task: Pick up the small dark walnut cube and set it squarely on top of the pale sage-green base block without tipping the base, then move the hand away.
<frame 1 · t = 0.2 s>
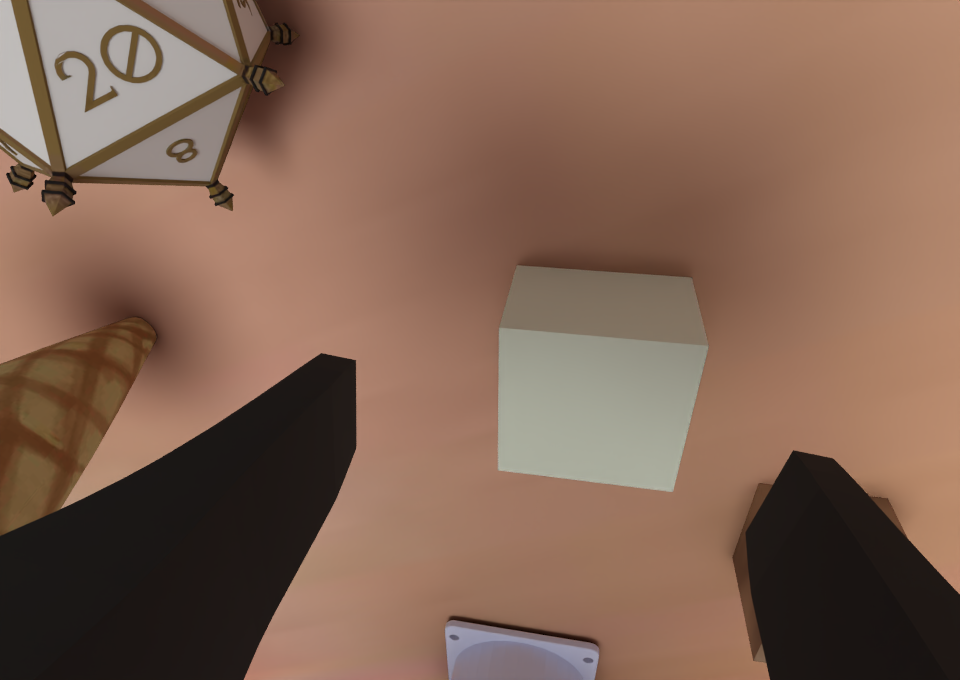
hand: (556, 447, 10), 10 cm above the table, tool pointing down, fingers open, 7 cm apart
game die: (200, 10, 17), on the table
base block: (594, 340, 21), on the table
walnut cube: (804, 528, 24), on the table
ice cream cone: (139, 320, 24), on the table
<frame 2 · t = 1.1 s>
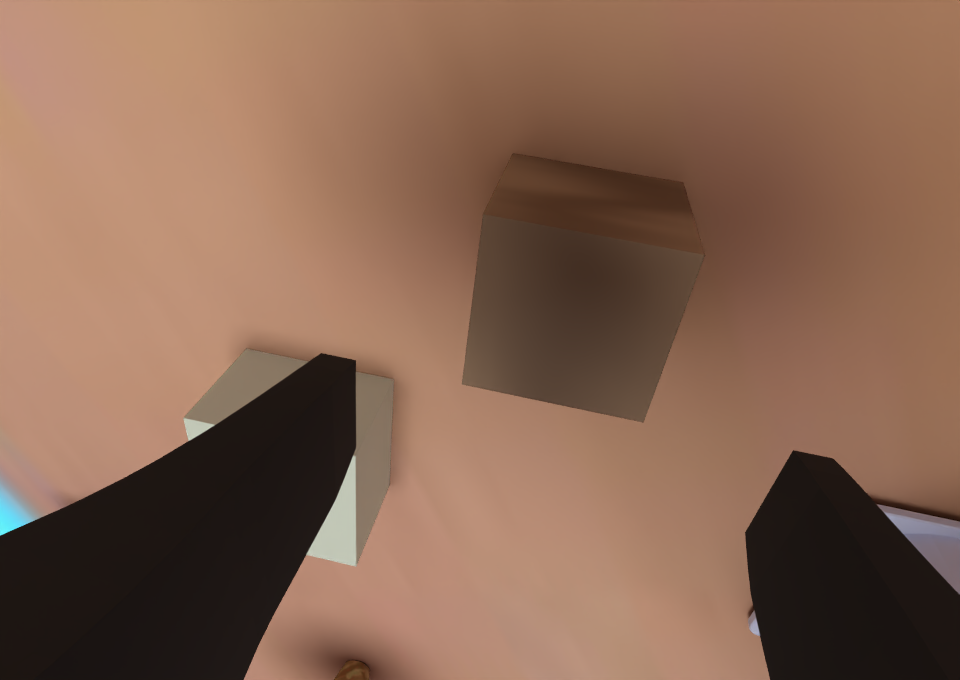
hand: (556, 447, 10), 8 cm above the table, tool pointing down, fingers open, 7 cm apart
base block: (323, 418, 23), on the table
walnut cube: (579, 244, 17), on the table
ice cream cone: (352, 662, 33), on the table
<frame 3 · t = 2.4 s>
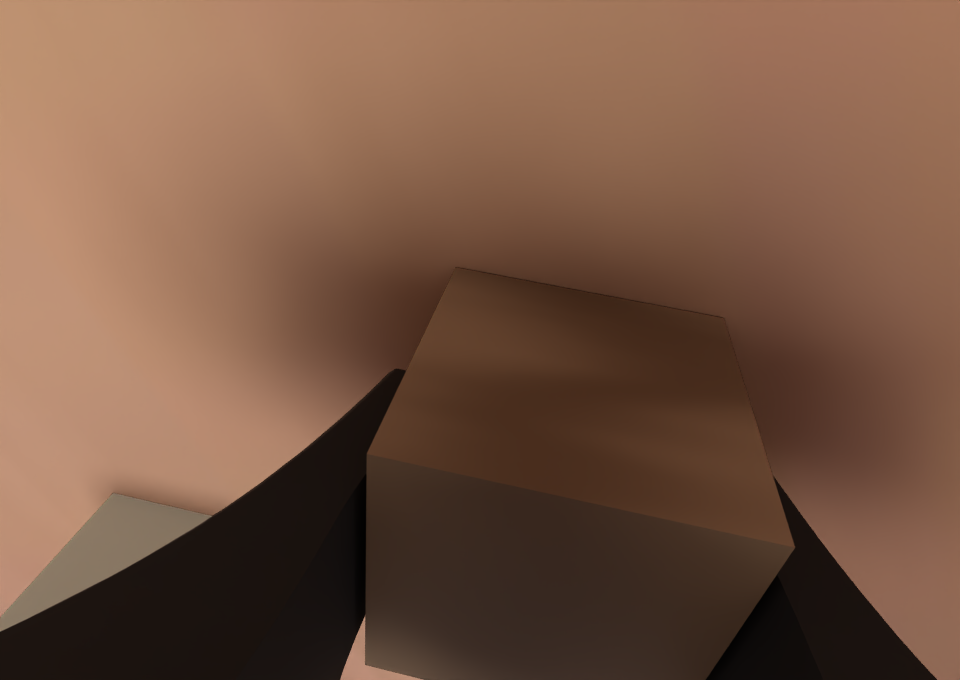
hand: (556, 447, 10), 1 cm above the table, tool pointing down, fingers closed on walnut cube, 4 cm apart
base block: (227, 572, 17), on the table
walnut cube: (561, 395, 11), on the table, touching gripper
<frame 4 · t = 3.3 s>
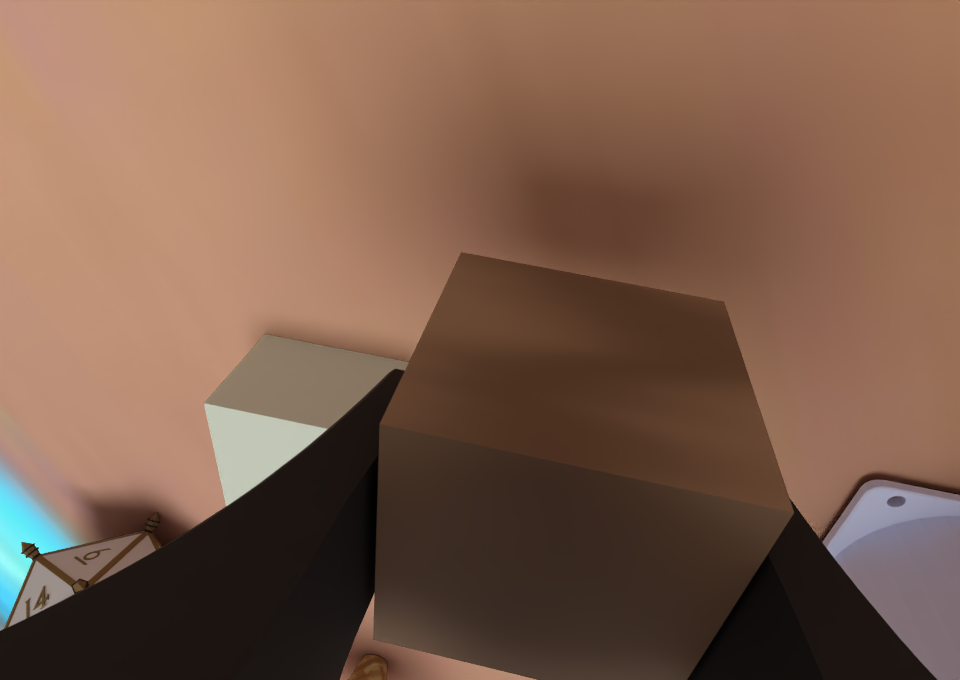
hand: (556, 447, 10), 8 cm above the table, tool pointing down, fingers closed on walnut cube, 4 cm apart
game die: (161, 544, 30), on the table
base block: (343, 405, 22), on the table
walnut cube: (564, 379, 11), point 7 cm above the table, touching gripper
ice cream cone: (369, 656, 32), on the table
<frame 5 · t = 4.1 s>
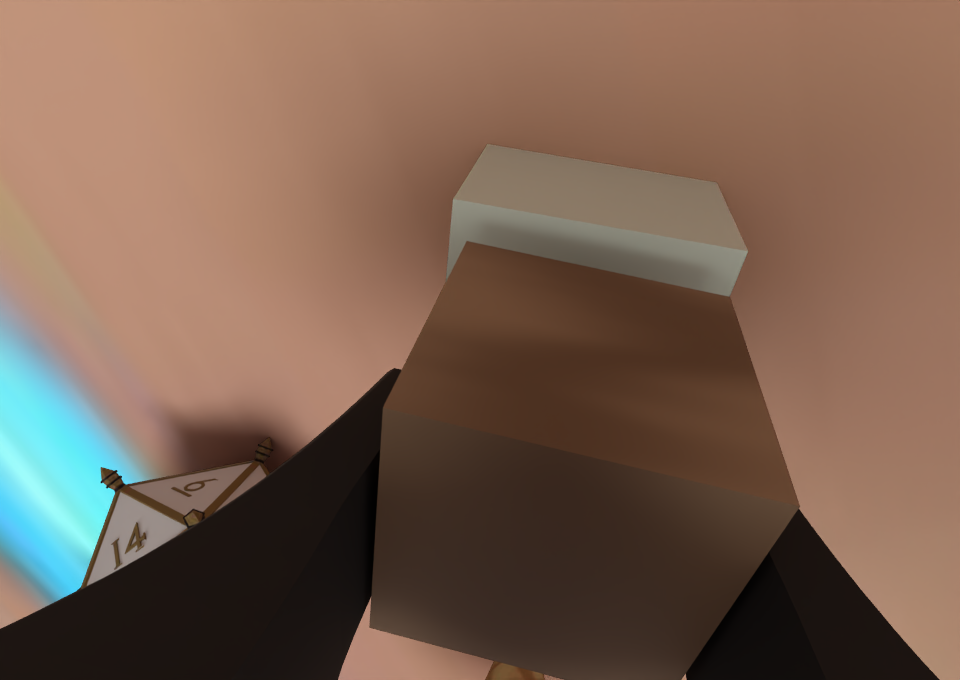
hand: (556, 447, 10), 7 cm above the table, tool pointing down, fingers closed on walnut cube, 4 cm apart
game die: (264, 484, 23), on the table
base block: (576, 262, 16), on the table
walnut cube: (566, 372, 11), point 5 cm above the table, touching gripper
ice cream cone: (514, 631, 26), on the table
when the fingers open (6 cm above the table, at t = 4.6 s): walnut cube stays where it is, resting on base block.
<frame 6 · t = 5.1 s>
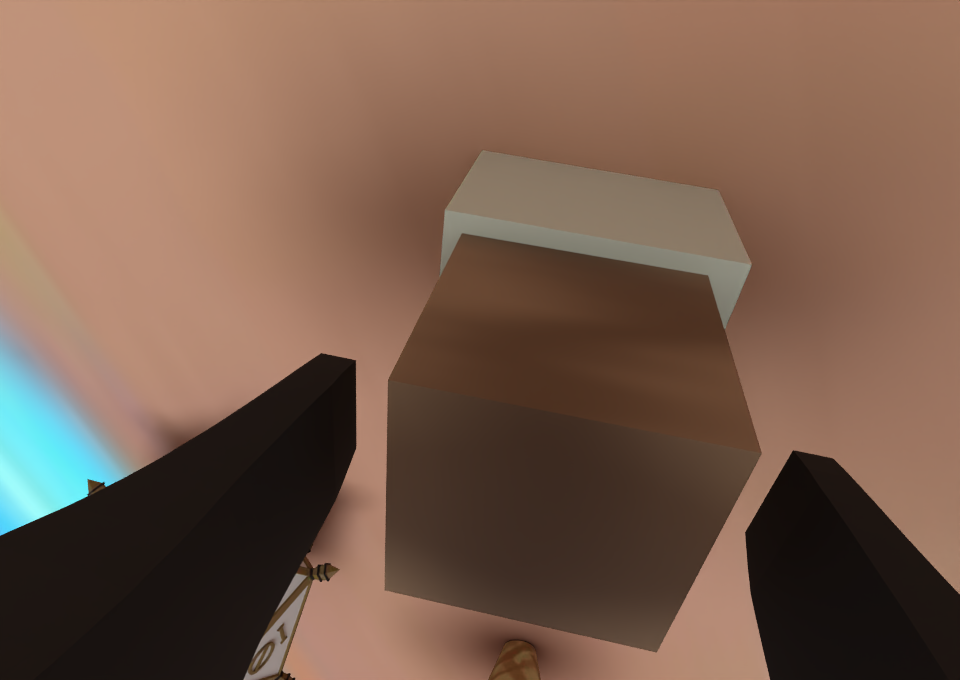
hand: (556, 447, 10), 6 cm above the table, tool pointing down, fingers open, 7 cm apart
game die: (257, 494, 23), on the table
base block: (574, 271, 15), on the table, touching walnut cube
walnut cube: (560, 353, 12), point 4 cm above the table, touching base block
ice cream cone: (511, 643, 26), on the table
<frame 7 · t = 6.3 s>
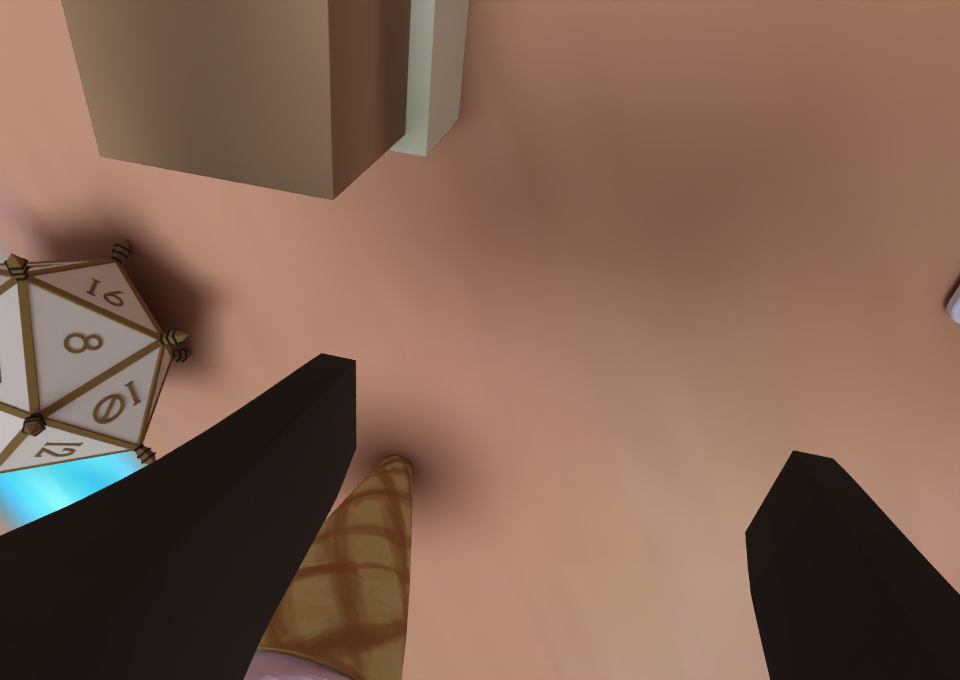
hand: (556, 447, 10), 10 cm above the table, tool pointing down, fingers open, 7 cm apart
game die: (134, 301, 24), on the table
walnut cube: (311, 14, 13), point 4 cm above the table, touching base block
ice cream cone: (390, 462, 27), on the table
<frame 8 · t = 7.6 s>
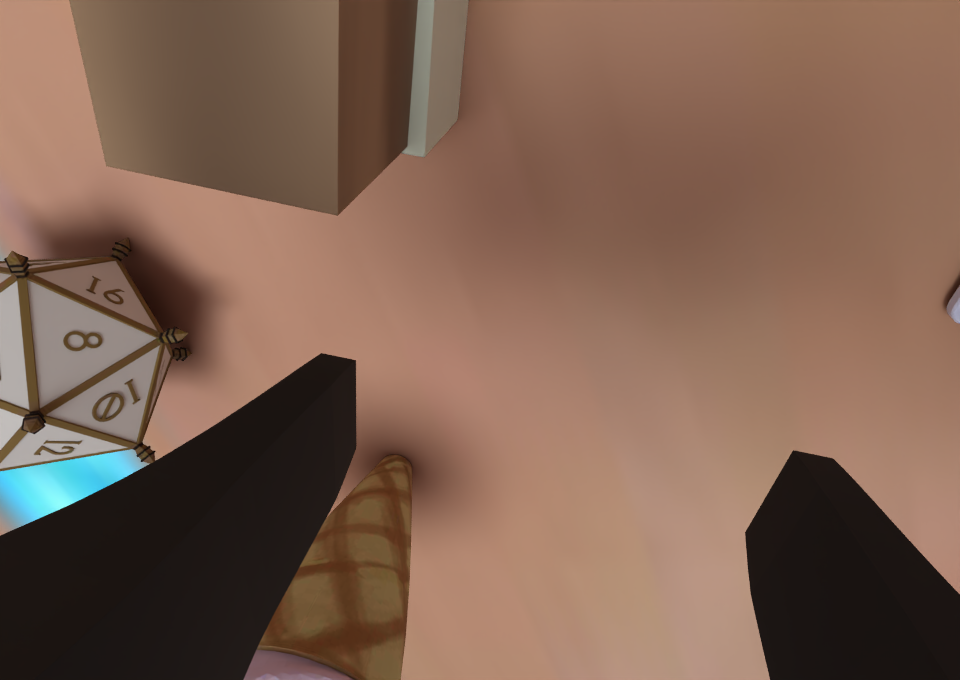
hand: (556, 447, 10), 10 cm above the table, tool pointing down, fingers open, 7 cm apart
game die: (134, 300, 24), on the table
base block: (371, 0, 16), on the table
walnut cube: (317, 26, 13), point 4 cm above the table
ice cream cone: (390, 461, 27), on the table
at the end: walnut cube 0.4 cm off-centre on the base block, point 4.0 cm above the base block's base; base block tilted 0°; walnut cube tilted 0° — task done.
